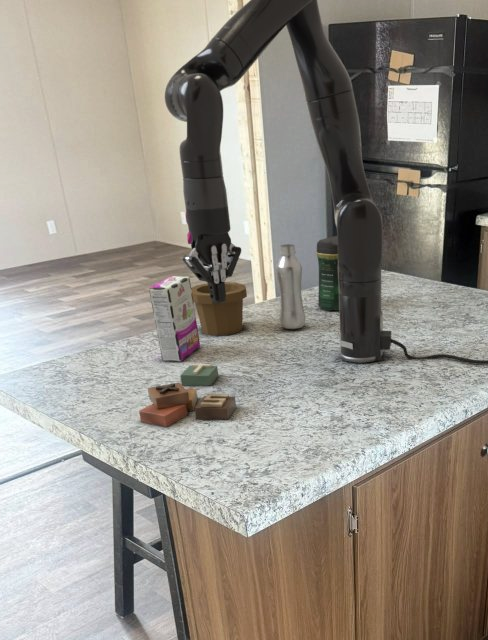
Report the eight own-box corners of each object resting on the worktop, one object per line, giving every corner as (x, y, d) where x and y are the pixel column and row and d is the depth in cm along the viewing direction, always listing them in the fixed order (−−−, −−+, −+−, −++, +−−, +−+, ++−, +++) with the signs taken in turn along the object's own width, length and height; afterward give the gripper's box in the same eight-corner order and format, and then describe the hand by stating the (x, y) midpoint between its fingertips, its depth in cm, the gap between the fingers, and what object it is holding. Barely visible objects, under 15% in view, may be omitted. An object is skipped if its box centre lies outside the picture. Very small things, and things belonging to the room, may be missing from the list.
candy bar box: (181, 346, 167) (170, 275, 159) (201, 347, 166) (191, 276, 158) (160, 361, 157) (147, 286, 149) (181, 362, 157) (169, 287, 148)
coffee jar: (337, 313, 190) (334, 240, 181) (314, 309, 194) (310, 238, 184) (357, 305, 197) (355, 235, 188) (334, 301, 201) (331, 233, 191)
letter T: (218, 375, 148) (216, 363, 147) (210, 385, 143) (208, 372, 142) (191, 375, 149) (189, 362, 148) (181, 385, 144) (179, 372, 143)
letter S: (236, 407, 133) (234, 393, 132) (227, 419, 128) (226, 405, 127) (205, 406, 134) (203, 392, 132) (196, 419, 129) (193, 404, 127)
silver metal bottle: (310, 326, 180) (305, 243, 170) (297, 333, 175) (291, 248, 164) (289, 323, 182) (282, 242, 172) (275, 330, 177) (268, 247, 167)
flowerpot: (201, 322, 185) (184, 198, 170) (255, 321, 184) (242, 197, 169) (187, 338, 173) (167, 206, 157) (245, 337, 172) (230, 205, 157)
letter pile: (203, 399, 137) (200, 375, 135) (180, 427, 125) (176, 401, 123) (163, 398, 138) (158, 374, 135) (136, 426, 126) (130, 400, 124)
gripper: (191, 210, 119) (205, 312, 128) (247, 201, 128) (257, 297, 137) (163, 207, 123) (179, 307, 132) (219, 199, 132) (230, 292, 141)
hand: (218, 302), depth 134 cm, fingers closed
